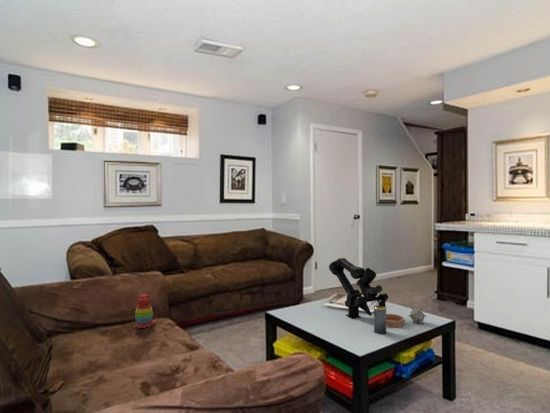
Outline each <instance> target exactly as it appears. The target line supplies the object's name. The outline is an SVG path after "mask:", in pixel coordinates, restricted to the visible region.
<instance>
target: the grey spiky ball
mask: <svg viewBox="0 0 550 413" xmlns="http://www.w3.org/2000/svg"><path fill="white" fill-rule="evenodd" d="M408 317H410V318H411V320H412V322H413V323H412V324H415V323H421V324H422V325H423V324H424V322H423V321H424V319H425V317H427V315H426V314H425V313H424V312H423V309H422V308H420V309H419V308H413V307H412V308H411V311H410V314H409V315H408Z"/></svg>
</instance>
